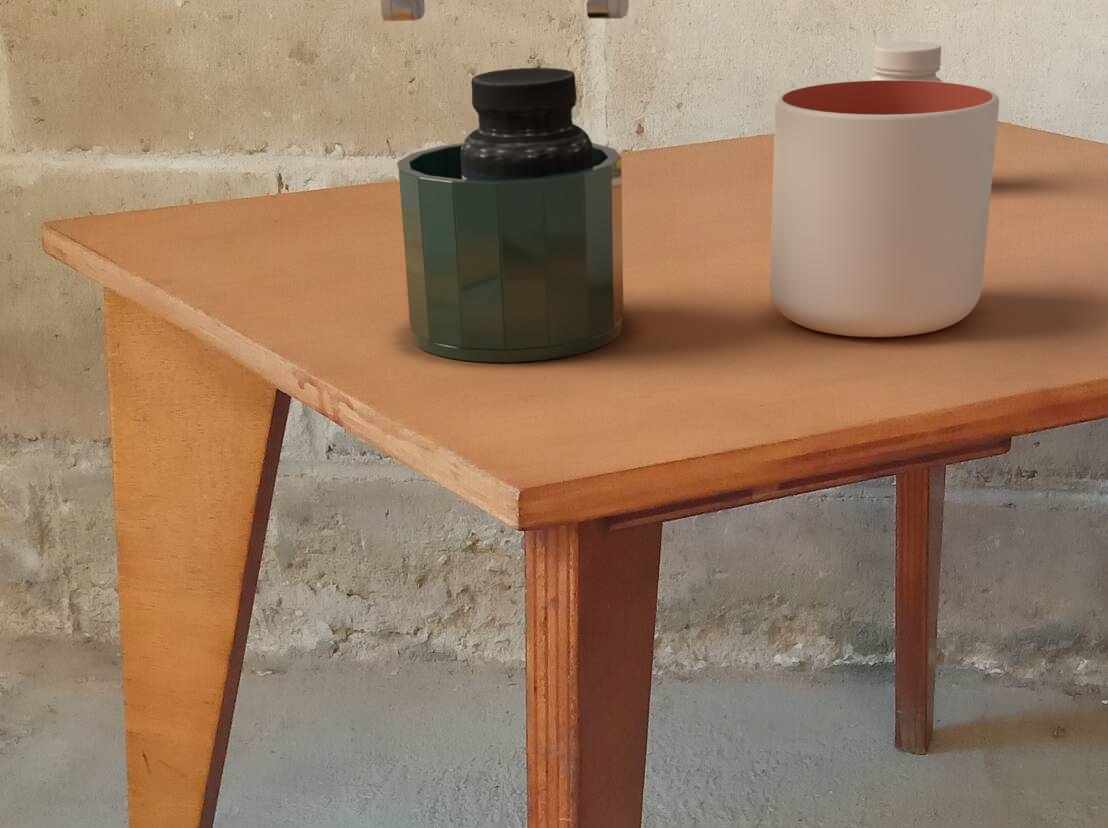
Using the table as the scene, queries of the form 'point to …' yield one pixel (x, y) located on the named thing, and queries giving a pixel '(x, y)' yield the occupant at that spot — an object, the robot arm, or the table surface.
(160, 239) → the table surface
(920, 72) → the supplement bottle
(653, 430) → the table surface
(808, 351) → the table surface
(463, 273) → the green cup
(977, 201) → the cup
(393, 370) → the table surface
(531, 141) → the pill bottle
